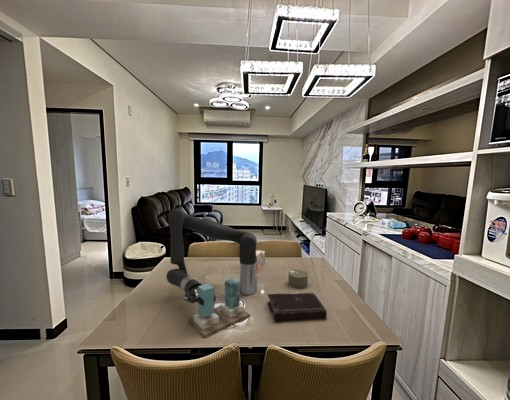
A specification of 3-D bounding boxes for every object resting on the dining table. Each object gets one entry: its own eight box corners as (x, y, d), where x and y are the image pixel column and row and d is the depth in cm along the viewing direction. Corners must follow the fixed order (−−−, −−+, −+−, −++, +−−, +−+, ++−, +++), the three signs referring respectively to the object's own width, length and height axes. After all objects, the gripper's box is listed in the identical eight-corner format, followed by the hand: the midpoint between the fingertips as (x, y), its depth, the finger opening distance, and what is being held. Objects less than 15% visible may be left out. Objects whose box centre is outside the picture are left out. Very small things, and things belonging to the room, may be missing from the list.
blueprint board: (231, 303, 128) (231, 273, 127) (250, 316, 117) (250, 283, 115) (188, 321, 113) (187, 286, 111) (204, 337, 102) (204, 300, 100)
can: (301, 290, 144) (301, 279, 144) (284, 284, 152) (284, 273, 151) (311, 283, 153) (311, 273, 153) (294, 278, 161) (294, 268, 160)
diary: (326, 320, 117) (327, 310, 116) (274, 324, 113) (274, 313, 113) (312, 299, 135) (312, 291, 134) (266, 302, 131) (267, 293, 131)
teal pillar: (208, 308, 113) (208, 283, 112) (213, 313, 110) (214, 287, 108) (198, 312, 110) (198, 286, 109) (203, 317, 106) (203, 290, 105)
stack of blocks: (257, 261, 190) (257, 246, 189) (265, 262, 188) (265, 246, 187) (248, 272, 170) (248, 254, 168) (257, 273, 168) (257, 255, 166)
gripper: (176, 283, 115) (194, 298, 102) (204, 275, 124) (223, 288, 111) (177, 298, 116) (194, 315, 103) (204, 289, 125) (223, 304, 112)
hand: (209, 301), depth 107 cm, fingers closed on teal pillar, 5 cm apart
